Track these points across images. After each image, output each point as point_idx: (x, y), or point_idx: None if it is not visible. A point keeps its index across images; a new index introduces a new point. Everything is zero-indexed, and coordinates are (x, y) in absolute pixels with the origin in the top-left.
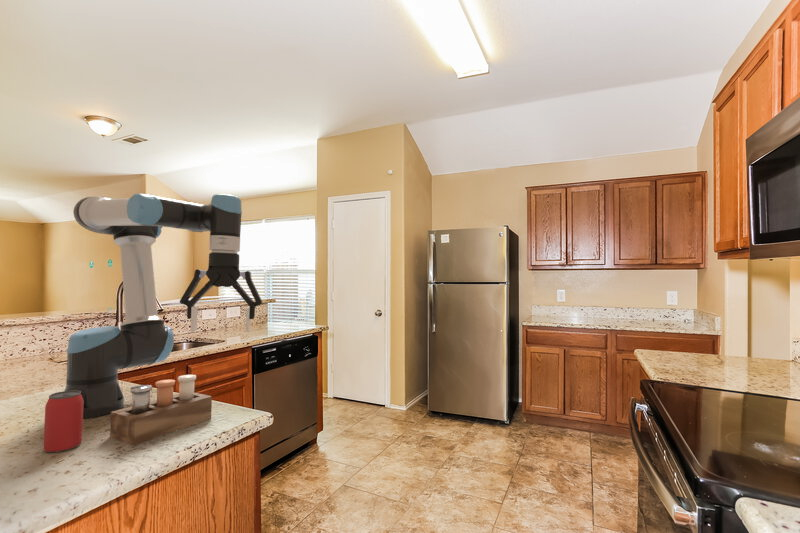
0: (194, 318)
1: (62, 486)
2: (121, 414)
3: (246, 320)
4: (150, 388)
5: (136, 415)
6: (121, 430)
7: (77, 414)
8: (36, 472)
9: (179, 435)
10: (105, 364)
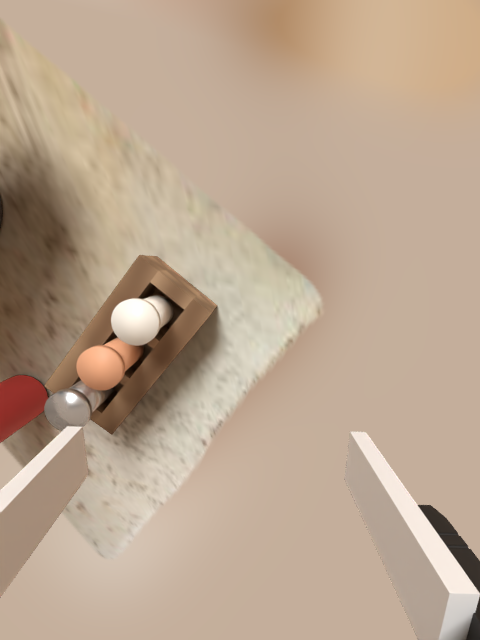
0: (37, 534)
1: (107, 505)
2: None
3: (376, 542)
4: (89, 415)
5: (103, 415)
6: None
7: (5, 432)
8: None
9: (185, 381)
10: None
